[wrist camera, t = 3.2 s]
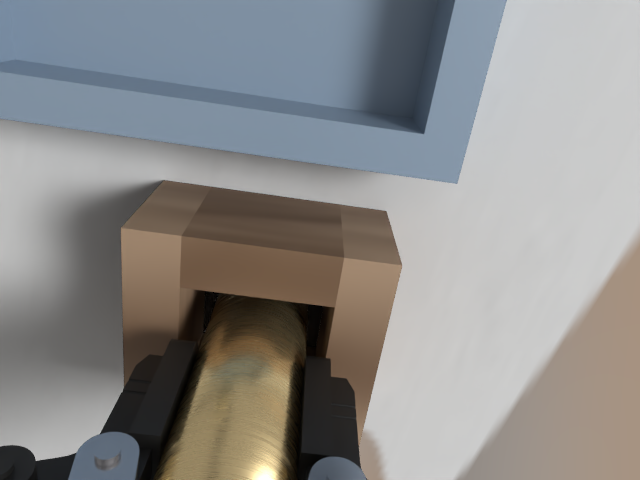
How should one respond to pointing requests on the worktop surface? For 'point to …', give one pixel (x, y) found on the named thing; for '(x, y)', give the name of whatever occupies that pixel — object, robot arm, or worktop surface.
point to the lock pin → (242, 395)
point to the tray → (259, 75)
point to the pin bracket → (259, 271)
